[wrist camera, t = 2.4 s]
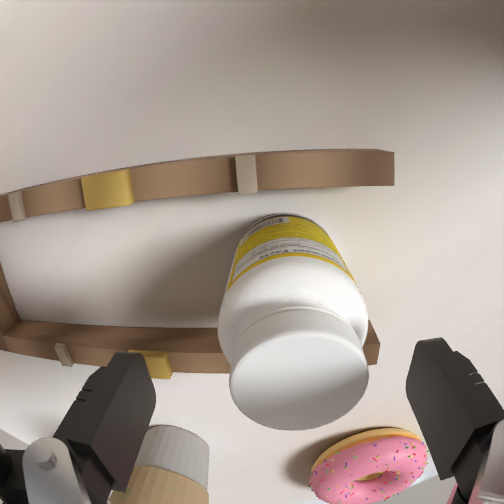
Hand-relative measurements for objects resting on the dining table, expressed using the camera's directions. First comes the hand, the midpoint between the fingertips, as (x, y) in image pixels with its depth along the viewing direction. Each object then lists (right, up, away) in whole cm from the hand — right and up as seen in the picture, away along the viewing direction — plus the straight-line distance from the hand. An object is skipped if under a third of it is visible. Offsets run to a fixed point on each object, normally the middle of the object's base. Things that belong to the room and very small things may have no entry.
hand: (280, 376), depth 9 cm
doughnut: (+10, -15, +16) cm, 24 cm away
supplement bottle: (+1, +3, +9) cm, 10 cm away
